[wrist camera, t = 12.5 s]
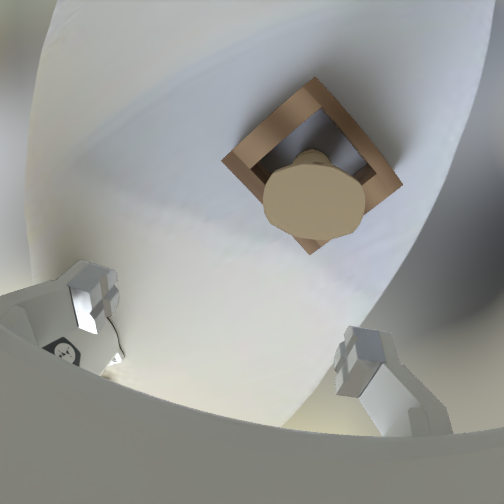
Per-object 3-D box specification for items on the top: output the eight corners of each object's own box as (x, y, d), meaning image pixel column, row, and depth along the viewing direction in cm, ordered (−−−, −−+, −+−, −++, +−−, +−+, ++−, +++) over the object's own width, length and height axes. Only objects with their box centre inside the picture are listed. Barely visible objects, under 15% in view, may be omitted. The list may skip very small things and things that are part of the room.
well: (309, 235, 35) (309, 255, 31) (233, 153, 33) (221, 160, 28) (390, 173, 30) (403, 184, 26) (313, 81, 27) (314, 76, 23)
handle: (283, 138, 31) (265, 160, 18) (343, 144, 30) (370, 172, 17) (280, 180, 33) (260, 233, 20) (338, 187, 32) (357, 244, 19)
